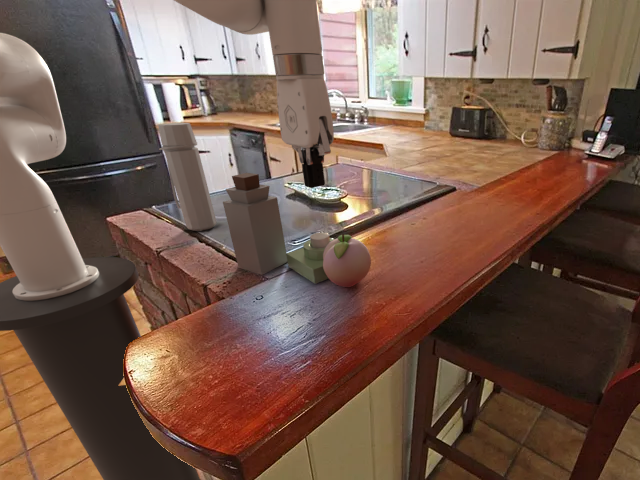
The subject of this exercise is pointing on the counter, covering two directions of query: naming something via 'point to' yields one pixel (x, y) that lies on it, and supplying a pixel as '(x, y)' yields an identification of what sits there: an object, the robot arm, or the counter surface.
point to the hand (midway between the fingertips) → (315, 185)
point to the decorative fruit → (346, 261)
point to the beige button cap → (319, 240)
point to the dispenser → (308, 262)
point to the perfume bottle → (254, 225)
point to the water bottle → (187, 175)
